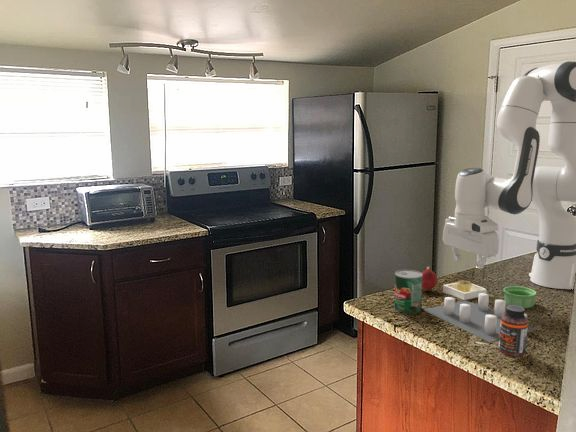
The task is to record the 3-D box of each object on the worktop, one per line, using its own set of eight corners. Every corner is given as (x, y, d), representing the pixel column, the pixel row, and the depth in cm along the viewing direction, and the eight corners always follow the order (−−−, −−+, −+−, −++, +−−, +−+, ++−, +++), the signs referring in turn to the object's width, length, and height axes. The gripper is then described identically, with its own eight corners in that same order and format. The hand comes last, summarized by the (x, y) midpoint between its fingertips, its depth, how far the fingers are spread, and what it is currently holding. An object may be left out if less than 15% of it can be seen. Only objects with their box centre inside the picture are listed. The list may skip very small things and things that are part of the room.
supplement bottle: (494, 352, 124) (497, 307, 122) (504, 345, 128) (507, 301, 126) (519, 360, 120) (522, 314, 118) (529, 352, 124) (533, 307, 122)
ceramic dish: (464, 288, 171) (464, 280, 170) (486, 296, 162) (486, 288, 162) (442, 292, 167) (443, 285, 166) (463, 301, 159) (464, 293, 158)
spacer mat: (466, 301, 158) (467, 286, 158) (536, 330, 136) (538, 313, 135) (422, 310, 151) (423, 294, 150) (489, 343, 129) (490, 325, 128)
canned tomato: (425, 308, 154) (426, 272, 152) (415, 316, 147) (417, 279, 145) (400, 302, 158) (401, 268, 156) (389, 311, 152) (390, 274, 149)
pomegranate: (437, 294, 165) (438, 270, 163) (418, 293, 166) (419, 269, 165) (436, 288, 170) (437, 265, 169) (417, 287, 172) (418, 264, 170)
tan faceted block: (464, 290, 167) (465, 279, 166) (474, 293, 164) (474, 283, 163) (453, 292, 165) (454, 281, 164) (462, 296, 162) (463, 285, 161)
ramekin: (535, 312, 150) (536, 297, 149) (501, 307, 153) (502, 293, 153) (535, 302, 158) (536, 288, 157) (503, 298, 161) (504, 284, 161)
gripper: (438, 216, 168) (437, 257, 171) (487, 229, 150) (485, 274, 153) (453, 214, 171) (452, 254, 174) (503, 226, 152) (501, 270, 156)
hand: (468, 264), depth 163 cm, fingers open, 8 cm apart
